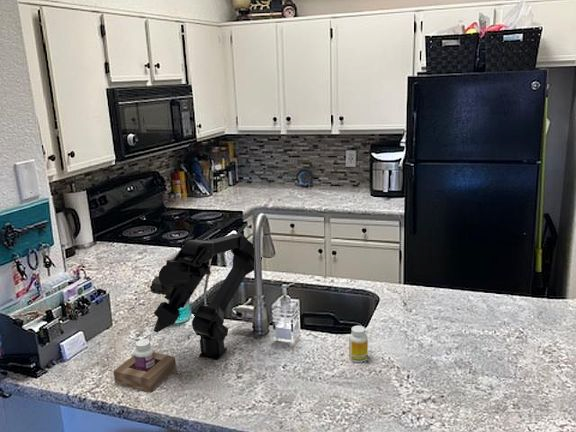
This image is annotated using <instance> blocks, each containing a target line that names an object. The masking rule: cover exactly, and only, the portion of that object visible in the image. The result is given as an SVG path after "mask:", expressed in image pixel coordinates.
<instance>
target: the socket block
mask: <svg viewBox="0 0 576 432" xmlns="http://www.w3.org/2000/svg"><path fill="white" fill-rule="evenodd" d="M154 358H155V365H154V366H153V367H152V368H151V369H150V370H149V371H147V372H146V371H141V370H137V369H136V366H135V358H134V354H133V355H132V356H131V357H129V358H128V359H127V360H126V361H124V362H123V363H121V365H119V366H118V367H117V368H115V369H114V370H113V371H112V373H113V377H114V378H113V379H114V385H119V386H124V387H127V388H132V389H136V390H138V391H139V390H141V391H144V392H149V393H152V392H153V391H154V390H155V389H156V388H157V387H158V386H159V385H161V383H163V382H164V381H165V380H166V379H167V378H168V377H169V376H170V375H171V374H173V373H174V372H175V371H176V370H177V365H176V356H173V355H169V354H163V353H158V352H154Z"/></svg>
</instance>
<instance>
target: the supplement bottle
mask: <svg viewBox="0 0 576 432" xmlns="http://www.w3.org/2000/svg"><path fill="white" fill-rule="evenodd" d="M366 332H367V331H366V327H365V326H362V325H354V326H352V327H351V333H350V334H349V337H348V357H349V360H350V359H351V360H350V361H352V362H354V361H355V362H354V363H364V362H365V360H366V361H367V360H368V346H369V345H368V343H369V342H368V341H369V340H368V339H369V338H368V335H367V334H366ZM363 361H364V362H363Z"/></svg>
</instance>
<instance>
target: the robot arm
mask: <svg viewBox="0 0 576 432" xmlns="http://www.w3.org/2000/svg"><path fill="white" fill-rule="evenodd" d="M253 244H254V243H252V242H251V241H249V240H248V238H247V237H246V236H245V235H243V234H238V233H231V234H229V235H226V236H224V235H223V236H221V237H218V238H213V239H209V240H201V239H188V240H186V241H185V242H184V244H183V246H182V247H181V249H180V250H179V251H178V253H177V254H176V255H175V256H174V259H172V260H166V263H165V265H163V266H162V267H161V268H160V270H159V271H158V276H157V275H156V276H155V277H154V278H153V279H152V281H151V285H150V286H149V289H150V293H152V294H156V295H162V296H163V295H164V299H166V300H167V301H168V302H166V301H162V302H160V303H159V305H157V308H156V309H155V310H154V312H153V314H154V316H156V318H157V320H156V322H155V326H154V328H153V332H155V333H159V332H161V331H162V330H164V329H166V328H168V327H170V326H174V324H176V322H177V320H178V319H179V316H180V315H181V313H180V312H181V311H180V309H184V308H185V306H186V304H187V303H188V301H189V300H190V299H191V297H192V296H193V294H194V292H195V291H196V289H197V288H198V286H199V285H200V283H201V282H202V281H203V279H204V277H206V275H211V270H210V266H209V264H207V262H208V261H210V260H212V259H213V257H214V256H216V255H218V254H221V253H225V252H228V251H230V253H232V255H233V256H232V267H231V269H230V270H229V272H228V273H227V275H226V277H225V278H224V280H223V282H222V284H221V285H220V286H219V288H218V289H217V292H216V293H215V295H214V296H213V298H212V299H211V301H210V302H209V303H208V304H207V305H205V304H201V305H200V306H198V309H197V310H196V312H195V313H194V314H193V319H192V321H191V326H192V331H194V333H195V335H196V336H199V337H200V339H199V349H200V354H199V355H198V356H199V358H203V359H209V360H214V361H218V360H220V358H222V357H223V355H224V354H225V353H227V352H228V347H225V339H226V337H227V336H228V335H229V334H228V333H229V328H228V327H227V326H225V325H224V323H225V321H224V320H225V317H224V316H225V315H224V314H225V311H226V310H227V308H228V307H229V304H230V303H231V301H232V299H233V298H234V296H235V294H236V293H237V291H238V290H239V287H240V286H241V284H242V283H243V281H244V279H245V277H246V276H248V275H249V274H251V273H252V272H254V271H255V270H254V248H253ZM262 259H263V256H262V257H261V261H262Z"/></svg>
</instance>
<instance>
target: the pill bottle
mask: <svg viewBox="0 0 576 432" xmlns="http://www.w3.org/2000/svg"><path fill="white" fill-rule="evenodd" d="M154 351H155V350H154V347H152V346H151V340H149V339H147V338H143V339H138V340H137V341H136V342H135V350H134V351H133V355H134V358H135V366H136V369H137V370H141V371H146V372H147V371H149V370H150V369H151V368H152V367H153V366H154V365H155V358H154V353H155V352H154Z"/></svg>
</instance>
